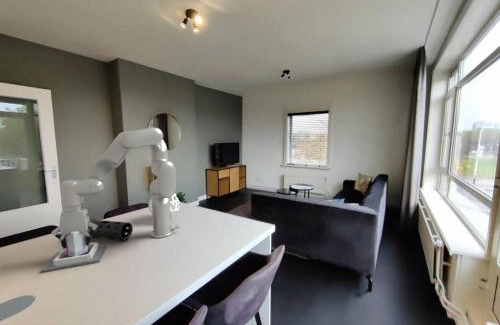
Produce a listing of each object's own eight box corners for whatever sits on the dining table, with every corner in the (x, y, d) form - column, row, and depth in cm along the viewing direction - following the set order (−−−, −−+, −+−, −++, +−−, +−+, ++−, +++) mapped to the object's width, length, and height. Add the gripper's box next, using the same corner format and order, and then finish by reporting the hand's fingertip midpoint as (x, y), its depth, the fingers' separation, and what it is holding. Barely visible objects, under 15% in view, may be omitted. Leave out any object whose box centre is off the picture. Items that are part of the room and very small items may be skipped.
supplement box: (88, 251, 101) (86, 228, 100) (75, 258, 96) (72, 233, 95) (80, 250, 103) (77, 226, 102) (66, 256, 98) (63, 231, 96)
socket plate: (107, 246, 111) (106, 239, 110) (99, 262, 96) (98, 254, 96) (57, 254, 103) (57, 247, 103) (40, 273, 89) (39, 265, 88)
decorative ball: (178, 212, 163) (177, 186, 161) (182, 221, 144) (181, 192, 142) (149, 216, 154) (147, 189, 153) (148, 226, 136) (147, 196, 134)
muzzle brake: (120, 245, 112) (119, 225, 111) (75, 240, 118) (73, 222, 116) (133, 237, 121) (132, 219, 120) (91, 233, 127) (90, 216, 126)
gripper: (98, 203, 104) (101, 238, 106) (52, 208, 97) (56, 245, 99) (94, 208, 97) (97, 245, 99) (44, 213, 91) (48, 253, 92)
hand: (76, 245), depth 99 cm, fingers closed on supplement box, 7 cm apart
